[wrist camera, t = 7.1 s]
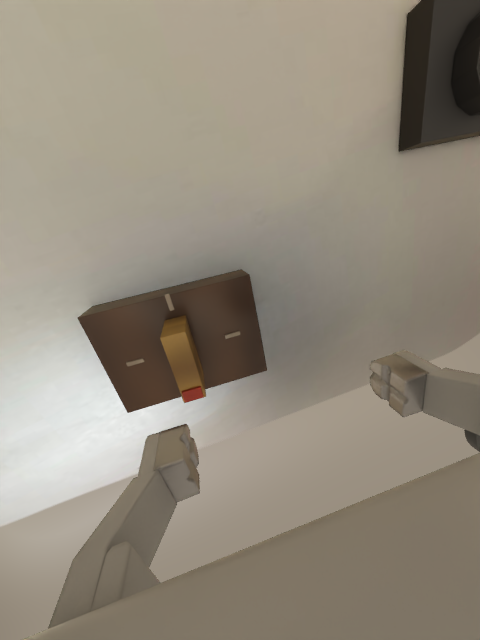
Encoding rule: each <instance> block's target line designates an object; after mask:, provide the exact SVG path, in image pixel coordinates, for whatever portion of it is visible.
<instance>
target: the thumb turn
mask: <svg viewBox="0 0 480 640" xmlns="http://www.w3.org/2000/svg"><path fill="white" fill-rule="evenodd" d="M160 339H161V342H162V345H163V347H164V350H165V353H166V355H167V358H168V361H169V364H170V366H171V369H172V372H173V374H174V377H175V380H176V382H177V385H178V388H179V390H180V393H181V396H182V398H183V401H184V403H186V402H189V401H193V400H196V399H199V398H203V397H206V392H205V383H204V374H203V369H202V366H201V363H200V360H199V356H198V353H197V350H196V347H195V343H194V340H193V337H192V334H191V330H190V327H189V324H188V321H187V317H186V315H185V316H181V317H177V318H173V319H169V320H165V322H164V325H163V329H162V333H161V337H160Z"/></svg>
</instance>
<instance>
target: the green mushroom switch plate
mask: <svg viewBox="0 0 480 640" xmlns="http://www.w3.org/2000/svg"><path fill="white" fill-rule="evenodd" d="M479 135H480V0H421V1H420V2H419V3H418V4H417V5H416V6H415V7H414V8H413V9H412V10H411V11H410V12H409V13H408V20H407V36H406V51H405V67H404V82H403V98H402V114H401V129H400V145H399V151H404V150H409V149H414V148H419V147H424V146H429V145H434V144H439V143H444V142H449V141H454V140H459V139H464V138H469V137H474V136H479Z"/></svg>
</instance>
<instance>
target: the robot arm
mask: <svg viewBox="0 0 480 640" xmlns="http://www.w3.org/2000/svg"><path fill="white" fill-rule="evenodd" d="M370 370H371V371H372V372H373V373H372V375H371V376H370V385H371V387H372V389H373V391H374V392H375V393H376V395H378V396H379V397H380V398H381V399H384V400H387V401H389V405H390V407H392V408H393V409H394V410H395V411H396V412H398V413H399V414H400V415H401V416H402V417H405V416H409V415H412V414H415V413H418V412H421V411H423V412H424V413H426V414H429V415H431V416H433V417H436V418H438V419H441V420H443V421H446V422H448V423H451V424H453V425H455V426H458V427H460V428H463V429H465V430H468V431H470V432H473V433H475V434H477V435H480V374H474V373H469V372H464V371H459V370H453V369H448V368H444V369H441V368H439V367H437V366H435V365H433V364H431V363H429V362H427V361H426V360H424V359H422V358H420V357H418V356H416V355H414V354H412V353H410V352H408V351H405V350H402V351H399V352H396V353H393V354H391V355H388V356H385V357H382V358H379V359H377V360H374V361H371V363H370ZM198 464H199V461H198V452H197V447H196V444H195V441H194V439H193V438H192V437H190V429H189V427H188V425H187V424H184V425H181V426H177V427H174V428H171V429H168V430H164V431H161V432H159V433H156V434H152V435H149V436H148V437H147V439H146V441H145V446H144V450H143V455H142V460H141V464H140V469H139V473H138V477H136V478H134V479H133V480H132V481H131V482H130V484H129V485H128V486H127V488H126V489H125V490H124V492H123V493H122V495H121V496H120V497H119V499H118V500H117V501H116V503H115V504H114V505H113V507H112V508H111V509H110V511H109V512H108V513H107V515H106V516H105V517H104V519H103V520H102V521H101V523H100V524H99V526H98V527H97V528H96V529H95V531H94V532H93V534H92V535H91V536H90V538H89V539H88V540H87V542H86V543H85V544H84V546H83V547H82V548H81V550H80V551H79V552H78V554H77V555H76V556H75V558H74V559H73V561H72V564H71V567H70V569H69V573H68V575H67V578H66V580H65V583H64V586H63V589H62V592H61V594H60V597H59V600H58V603H57V605H56V608H55V611H54V613H53V616H52V619H51V622H50V625H49V627H48V629H47V630H44V631H42V632H39V633H37V634H34V635H32V636H30V637H27V638H25V639H22V640H480V453H478V454H476V455H473V456H471V457H468V458H466V459H463V460H461V461H458V462H456V463H453V464H451V465H449V466H446V467H444V468H441V469H439V470H437V471H434V472H431V473H429V474H427V475H424V476H422V477H419V478H417V479H414V480H412V481H409V482H407V483H404V484H402V485H400V486H397V487H395V488H392V489H390V490H387V491H385V492H382V493H380V494H377V495H375V496H372V497H370V498H368V499H365V500H363V501H360V502H358V503H356V504H353V505H350V506H348V507H346V508H343V509H341V510H338V511H336V512H334V513H331V514H329V515H326V516H324V517H321V518H319V519H316V520H314V521H311V522H309V523H307V524H304V525H302V526H299V527H297V528H295V529H292V530H289V531H287V532H284V533H282V534H280V535H277V536H275V537H272V538H270V539H267V540H265V541H262V542H260V543H258V544H255V545H253V546H250V547H248V548H245V549H243V550H240V551H238V552H236V553H233V554H231V555H228V556H226V557H223V558H221V559H219V560H216V561H214V562H211V563H209V564H206V565H204V566H201V567H199V568H197V569H194V570H191V571H189V572H187V573H184V574H182V575H179V576H177V577H175V578H172V579H169V580H167V581H165V582H162V583H160V582H159V580H158V579H157V578H156V576H155V575H154V574H153V573H152V571H151V570H150V569H149V567H150V564H151V562H152V560H153V558H154V555H155V553H156V551H157V548H158V546H159V544H160V542H161V539H162V537H163V535H164V533H165V530H166V528H167V526H168V523H169V521H170V519H171V517H172V514H173V512H174V509H175V508H176V505H177V502H179V501H182V500H184V499H187V498H189V497H191V496H194V495H196V494H199V493H200V487H199V474H198V472H197V469H196V468H197V466H198Z"/></svg>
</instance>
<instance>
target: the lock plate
mask: <svg viewBox="0 0 480 640" xmlns="http://www.w3.org/2000/svg"><path fill="white" fill-rule="evenodd" d="M185 315H186V317H187V321H188V324H189V327H190V330H191V334H192V337H193V340H194V343H195V347H196V350H197V353H198V356H199V360H200V363H201V366H202V369H203V374H204V383H205V389H208V388H211V387H214V386H217V385H221V384H224V383H227V382H231V381H234V380H237V379H240V378H244V377H247V376H250V375H253V374H257V373H260V372H263V371H267V367H266V361H265V356H264V351H263V345H262V340H261V334H260V329H259V324H258V318H257V313H256V308H255V302H254V297H253V291H252V286H251V281H250V275H249V274H247V273H246V272H244V271H243V270H238V271H234V272H230V273H226V274H222V275H218V276H214V277H209V278H205V279H201V280H197V281H193V282H189V283H185V284H181V285H177V286H173V287H169V288H165V289H161V290H157V291H153V292H149V293H145V294H141V295H137V296H132V297H128V298H124V299H120V300H116V301H112V302H108V303H104V304H100V305H96V306H92V307H91V308H90V309H88V310H87V311H86V312H85V313H83V314H82V315H81V316H79V317H78V320H79V321H80V323H81V325H82V327H83V329H84V331H85V333H86V335H87V337H88V338H89V340H90V342H91V344H92V346H93V348H94V350H95V352H96V354H97V355H98V357H99V359H100V361H101V363H102V365H103V367H104V369H105V371H106V372H107V374H108V376H109V378H110V380H111V382H112V384H113V386H114V388H115V389H116V391H117V393H118V395H119V397H120V399H121V401H122V403H123V405H124V406H125V408H126V410H127V412H128V413H129V412H132V411H136V410H139V409H142V408H145V407H149V406H152V405H155V404H159V403H162V402H165V401H168V400H172V399H175V398H178V397H181V393H180V390H179V388H178V385H177V382H176V380H175V377H174V374H173V372H172V369H171V366H170V364H169V361H168V358H167V355H166V353H165V350H164V347H163V345H162V342H161V339H160V337H161V333H162V329H163V325H164V322H165V320H169V319H173V318H177V317H181V316H185Z"/></svg>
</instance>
